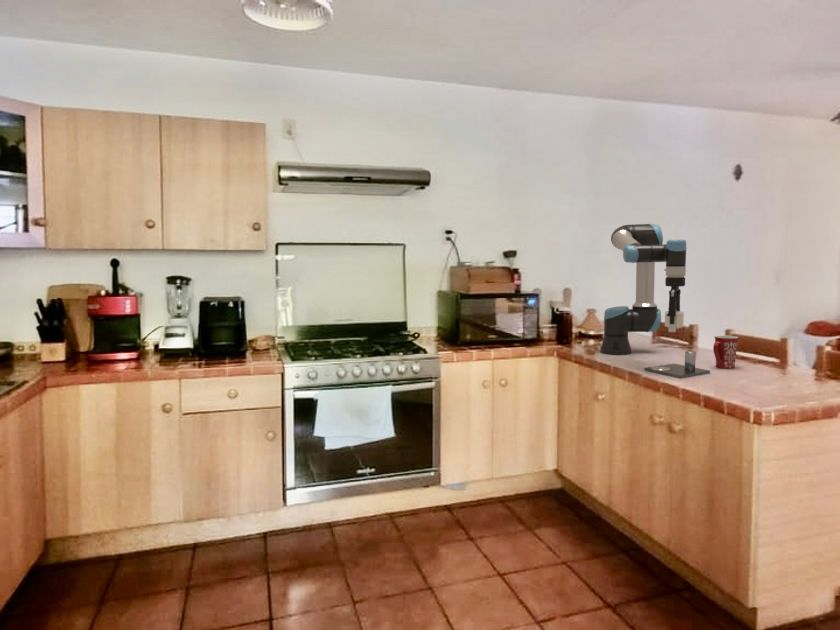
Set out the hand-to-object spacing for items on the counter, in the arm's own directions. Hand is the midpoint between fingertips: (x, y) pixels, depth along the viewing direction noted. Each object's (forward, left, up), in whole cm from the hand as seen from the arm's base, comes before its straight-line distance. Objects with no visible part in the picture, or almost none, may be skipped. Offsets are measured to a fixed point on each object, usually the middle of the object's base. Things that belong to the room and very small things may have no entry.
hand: (673, 330), depth 234 cm
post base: (+1, +1, -18) cm, 18 cm away
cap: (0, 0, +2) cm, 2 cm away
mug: (+5, +25, -18) cm, 32 cm away
